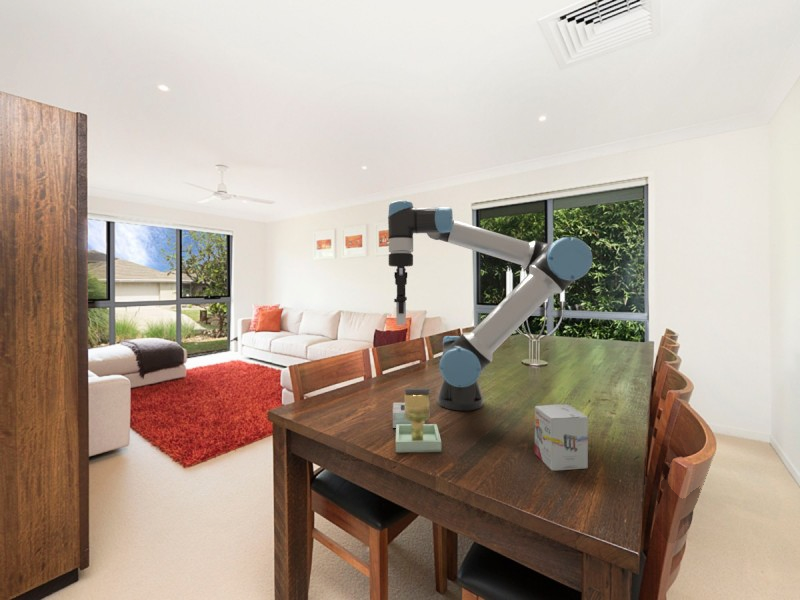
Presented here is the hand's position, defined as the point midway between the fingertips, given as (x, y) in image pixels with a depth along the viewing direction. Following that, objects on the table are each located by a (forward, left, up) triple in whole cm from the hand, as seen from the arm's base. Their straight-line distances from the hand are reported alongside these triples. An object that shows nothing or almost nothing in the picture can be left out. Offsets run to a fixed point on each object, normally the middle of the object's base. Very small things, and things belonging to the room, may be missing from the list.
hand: (401, 322), depth 111 cm
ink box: (-36, +30, -29) cm, 55 cm away
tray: (-4, +20, -29) cm, 35 cm away
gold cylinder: (-4, +20, -28) cm, 35 cm away
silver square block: (-2, +7, -29) cm, 30 cm away
